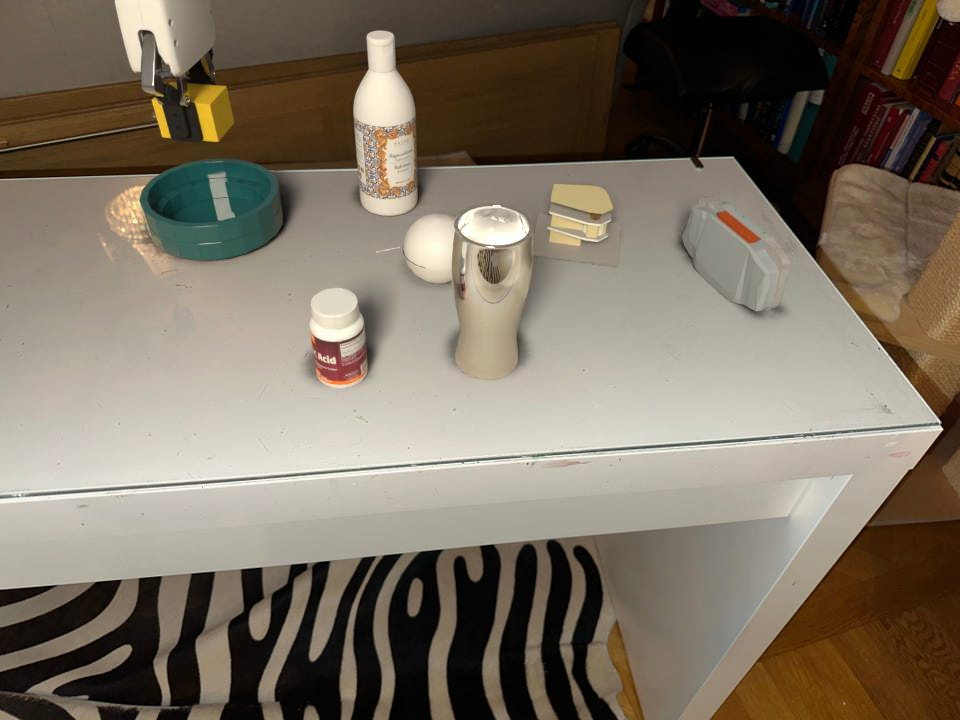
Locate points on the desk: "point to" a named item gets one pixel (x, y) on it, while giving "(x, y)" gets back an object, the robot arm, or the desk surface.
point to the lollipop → (430, 247)
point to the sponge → (204, 111)
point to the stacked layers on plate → (578, 226)
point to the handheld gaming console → (736, 255)
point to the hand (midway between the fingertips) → (197, 127)
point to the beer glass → (490, 286)
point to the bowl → (212, 209)
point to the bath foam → (385, 132)
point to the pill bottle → (338, 338)
